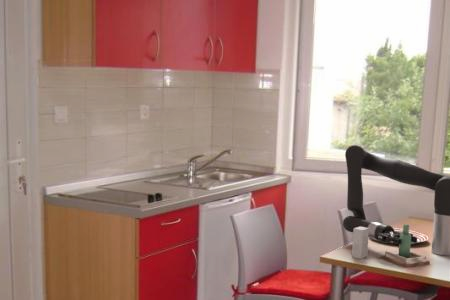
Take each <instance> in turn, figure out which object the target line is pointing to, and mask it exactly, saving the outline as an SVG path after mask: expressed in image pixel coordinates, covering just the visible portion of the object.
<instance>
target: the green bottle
mask: <svg viewBox="0 0 450 300" xmlns="http://www.w3.org/2000/svg"><path fill="white" fill-rule="evenodd" d="M402 229H403V233H401V234H400V239H402V244H398V253H397V254H398V255H399V256H402V257H405V258H410V252H411V245H412V244H411V234H409V230H410V224H406V223H404V224H403V227H402Z"/></svg>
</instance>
